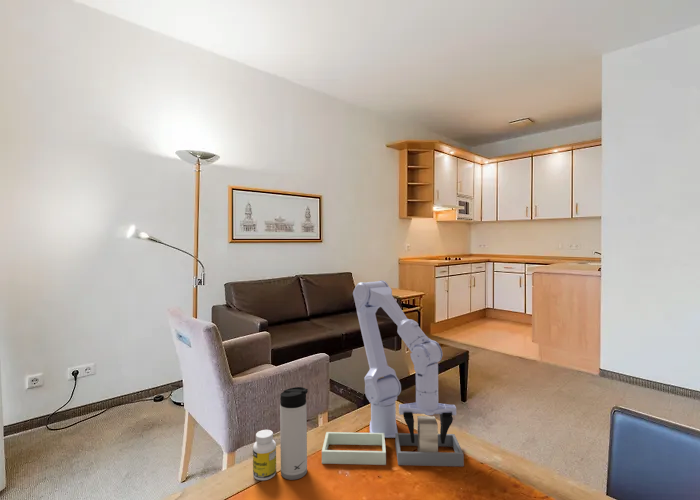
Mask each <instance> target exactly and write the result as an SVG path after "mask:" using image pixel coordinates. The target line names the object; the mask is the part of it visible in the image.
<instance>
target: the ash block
mask: <svg viewBox="0 0 700 500" xmlns="http://www.w3.org/2000/svg"><path fill="white" fill-rule="evenodd" d="M438 427H439V426H438V422H437V420H436V417H435V416H434V415H426V416H425V415H420V416H419V415H417V434H418V446H417V452H439V446H438V434H439V433H438V432H439V429H438Z"/></svg>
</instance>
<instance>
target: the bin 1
mask: <svg viewBox="0 0 700 500" xmlns="http://www.w3.org/2000/svg"><path fill="white" fill-rule="evenodd" d="M329 445H342V446H343V445H346V446H347V445H352V446H353V445H354V446H355V445H357V446H358V445H359V446H381V449H382V450H349V449H347V450H345V449H344V450H340V449H329ZM386 449H387V448H386V440H385V436H384V433H370V432H349V431H346V432H345V431H343V432H342V431H341V432H340V431H326V432H325V436H324V440H323V445H322V448H321V464H322V465H323V464H325V465H326V464H327V465H329V464H332V465H334V464H335V465H336V464H337V465H374V466H375V465H376V466H387V451H386Z"/></svg>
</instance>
